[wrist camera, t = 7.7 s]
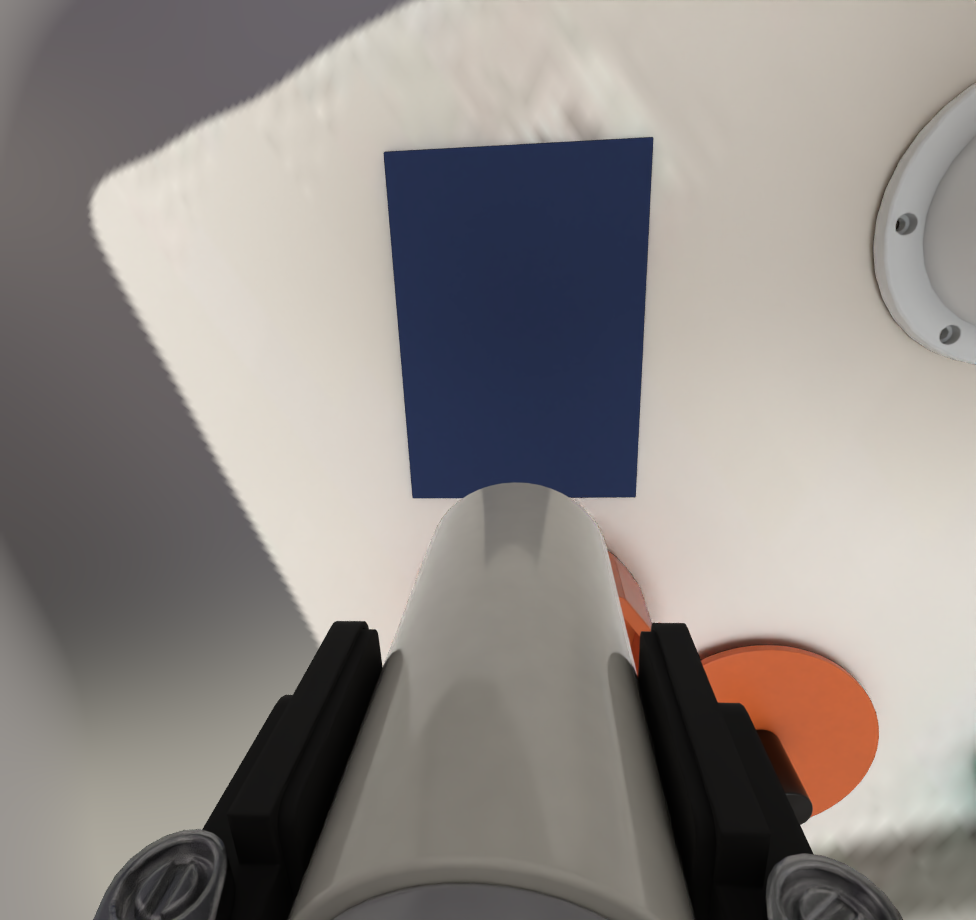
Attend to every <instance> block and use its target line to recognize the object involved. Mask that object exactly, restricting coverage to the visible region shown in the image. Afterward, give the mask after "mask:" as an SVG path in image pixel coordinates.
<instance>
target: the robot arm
mask: <svg viewBox="0 0 976 920" xmlns="http://www.w3.org/2000/svg"><path fill="white" fill-rule="evenodd" d="M897 220H898V221H899V227H898V229H897V230H896V226H895V224H896V222H897ZM873 250H874V264H875V275H876V279H877V282H878V285H879V289H880V292H881V296H882V299H883V301H884V302H885V304H886V306H887V308H888V310H889V311H890V313H891V315H892V317H893V318H894V320H895V321H896V322H897V323H898V324H899V326H900V327H901V328H902V329H903V330H904V331H905V332H906V333H907V334H908V335H909V336H910V337H911V338H912V339H914V340H915V341H917V342H918V343H920V344H921V345H923V346H924V347H926V348H927V349H929V350H930V351H932V352H935V353H938V354H940V355H943V356H945V357H948V358H951V359H953V360H958V361H962V362H967V363H971V364H975V365H976V83H974V84H973V85H971V86H970V87H969V88H967V89H966V90H965V91H963V92H962V93H961V94H960V95H958V96H957V97H956V98H954V99H953V100H952V101H951V102H949V103H948V104H947V105H945V106H944V107H943V108H942V109H941V110H940V111H939V112H938V113H937V115H936V116H935V117H934V118H933V119H932V120H931V121H930V122H929V123H928V124H927V125H926V126H925V127H924V128H923V129H922V130H921V131H920V132H919V134H918V135H917V137H916V138H915V140H914V141H913V142H912V144H911V145H910V147H909V148H908V150H907V151H906V152H905V154H904V155H903V157H902V158H901V160H900V161H899V163H898V165H897V167H896V169H895V171H894V173H893V176H892V178H891V180H890V182H889V184H888V186H887V188H886V190H885V193H884V196H883V200H882V203H881V206H880V210H879V213H878V216H877V221H876V229H875V237H874V246H873ZM941 331H942V333H941ZM940 333H941V335H940ZM381 671H382V660H381V652H380V645H379V637H378V632H377V630H375V629H369V628H368V625H367V623H366V622H365V621H336V622H334V623H333V625H332V626H331V628H330V630H329V631H328V633H327V635H326V637H325V638H324V640H323V642H322V644H321V646H320V647H319V649H318V651H317V653H316V655H315V656H314V659H313V660H312V662H311V664H310V665H309V667H308V669H307V671H306V672H305V674H304V676H303V678H302V680H301V682H300V683H299V685H298V687H297V689H296V690H295V692H294V694H293V695H285V696H283V697H281V698H280V699H279V701H278V702H277V703H276V705H275V706H274V708H273V710H272V712H271V713H270V715H269V717H268V718H267V720H266V722H265V723H264V725H263V727H262V729H261V730H260V732H259V734H258V735H257V737H256V739H255V740H254V742H253V744H252V746H251V747H250V749H249V751H248V752H247V754H246V756H245V758H244V759H243V761H242V763H241V765H240V766H239V768H238V770H237V771H236V773H235V775H234V777H233V778H232V780H231V782H230V783H229V785H228V787H227V788H226V790H225V792H224V793H223V795H222V797H221V798H220V800H219V802H218V804H217V805H216V807H215V809H214V811H213V812H212V814H211V816H210V817H209V819H208V821H207V823H206V824H205V826H204V828H203V829H202V830H201V829H196V830H183V831H179V832H176V833H173V834H169V835H167V836H164V837H162V838H161V839H159V840H157V841H155V842H153V843H151V844H149V845H148V846H146V847H145V848H144V849H142V850H141V851H140V852H139V853H137V854H136V855H135V856H133V857H132V858H131V859H130V860H129V861H128V862H127V863H126V864H125V865H124V866H123V868H122V869H121V870H120V871H119V872H118V873H117V874H116V876H115V877H114V879H113V881H112V882H111V884H110V886H109V887H108V889H107V891H106V892H105V894H104V896H103V899H102V901H101V903H100V905H99V908H98V910H97V912H96V915H95V917H94V919H93V920H287V919H288V916H289V913H290V911H291V908H292V906H293V903H294V900H295V898H296V895H297V892H298V890H299V887H300V884H301V882H302V879H303V877H304V874H305V871H306V869H307V866H308V863H309V861H310V858H311V855H312V853H313V850H314V847H315V845H316V842H317V840H318V837H319V834H320V832H321V829H322V826H323V824H324V821H325V818H326V816H327V813H328V811H329V808H330V805H331V803H332V800H333V797H334V795H335V792H336V789H337V787H338V784H339V781H340V779H341V776H342V774H343V771H344V768H345V766H346V763H347V760H348V758H349V755H350V752H351V750H352V747H353V744H354V742H355V739H356V737H357V734H358V731H359V729H360V726H361V723H362V721H363V718H364V715H365V713H366V710H367V708H368V705H369V702H370V700H371V697H372V694H373V692H374V689H375V686H376V684H377V681H378V678H379V676H380V673H381ZM638 680H639V684H640V688H641V692H642V697H643V701H644V705H645V709H646V713H647V717H648V722H649V726H650V730H651V734H652V738H653V743H654V747H655V751H656V755H657V759H658V763H659V768H660V772H661V776H662V780H663V784H664V788H665V793H666V797H667V801H668V805H669V809H670V814H671V818H672V822H673V826H674V830H675V834H676V839H677V843H678V847H679V851H680V855H681V859H682V864H683V868H684V872H685V876H686V880H687V885H688V889H689V893H690V897H691V901H692V905H693V910H694V914H695V918H696V920H903V919H902V917H901V915H900V913H899V911H898V910H897V909H896V907H895V906H894V905H893V904H892V902H891V901H890V900H889V898H888V897H887V896H886V894H885V893H884V892H883V891H882V890H880V889H879V888H878V887H877V886H876V885H875V884H874V883H873V882H871V881H870V880H869V879H868V878H867V877H866V876H864V875H863V874H861V873H859V872H858V871H856V870H854V869H853V868H851V867H850V866H848V865H846V864H845V863H842V862H839V861H836V860H834V859H831V858H828V857H826V856H822V855H814V854H813V852H812V850H811V848H810V846H809V843H808V841H807V839H806V837H805V835H804V833H803V830H802V828H801V826H800V824H799V822H798V820H797V818H796V815H795V813H794V811H793V809H792V807H791V805H790V802H789V800H788V798H787V796H786V794H785V792H784V789H783V787H782V785H781V783H780V781H779V779H778V776H777V774H776V772H775V770H774V768H773V766H772V764H771V761H770V759H769V757H768V755H767V753H766V751H765V748H764V746H763V744H762V742H761V740H760V738H759V735H758V733H757V731H756V729H755V727H754V725H753V722H752V720H751V718H750V716H749V714H748V712H747V710H746V709H745V707H744V706H743V705H742V704H741V703H718V702H717V699H716V697H715V694H714V692H713V689H712V687H711V685H710V682H709V680H708V677H707V675H706V672H705V670H704V667H703V665H702V662H701V660H700V657H699V655H698V652H697V650H696V648H695V645H694V643H693V640H692V638H691V635H690V633H689V630H688V628H687V626H686V624H684V623H653V624H652V626H651V631H641V633H640V645H639V668H638Z"/></svg>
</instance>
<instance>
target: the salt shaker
mask: <svg viewBox="0 0 976 920" xmlns="http://www.w3.org/2000/svg"><path fill="white" fill-rule="evenodd" d="M287 920H696V918H695V914H694V910H693V905H692V901H691V897H690V893H689V889H688V885H687V880H686V876H685V872H684V868H683V864H682V859H681V855H680V851H679V847H678V843H677V839H676V834H675V830H674V826H673V822H672V818H671V814H670V809H669V805H668V801H667V797H666V793H665V788H664V784H663V780H662V776H661V772H660V768H659V763H658V759H657V755H656V751H655V747H654V743H653V738H652V734H651V730H650V726H649V722H648V717H647V713H646V709H645V705H644V701H643V697H642V692H641V688H640V684H639V680H638V676H637V672H636V667H635V663H634V659H633V655H632V651H631V646H630V642H629V638H628V634H627V630H626V626H625V621H624V617H623V613H622V609H621V605H620V601H619V596H618V592H617V588H616V584H615V580H614V575H613V571H612V567H611V563H610V559H609V555H608V550H607V546H606V543H605V540H604V538H603V535H602V533H601V531H600V529H599V527H598V526H597V524H596V523H595V521H594V520H593V519H592V517H591V516H590V515H589V514H588V513H587V512H586V511H585V510H584V509H583V508H582V507H581V506H580V505H579V504H577V503H576V502H575V501H574V500H572V499H571V498H569V497H567V496H566V495H564V494H562V493H560V492H558V491H555V490H553V489H551V488H547V487H544V486H540V485H536V484H530V483H515V482H514V483H502V484H497V485H492V486H488V487H485V488H482V489H479V490H477V491H475V492H473V493H471V494H469V495H467V496H466V497H464V498H463V499H461V500H460V501H458V502H457V503H456V504H455V505H454V506H452V507H451V508H450V509H449V510H448V512H447V513H446V514H445V515H444V516H443V517H442V519H441V521H440V522H439V524H438V525H437V527H436V529H435V531H434V534H433V536H432V538H431V541H430V544H429V546H428V549H427V552H426V554H425V557H424V560H423V562H422V565H421V568H420V570H419V573H418V575H417V578H416V581H415V583H414V586H413V589H412V591H411V594H410V597H409V599H408V602H407V605H406V607H405V610H404V612H403V615H402V618H401V620H400V623H399V626H398V628H397V631H396V634H395V636H394V639H393V641H392V644H391V647H390V649H389V652H388V655H387V657H386V660H385V663H384V665H383V668H382V671H381V673H380V676H379V678H378V681H377V684H376V686H375V689H374V692H373V694H372V697H371V700H370V702H369V705H368V708H367V710H366V713H365V715H364V718H363V721H362V723H361V726H360V729H359V731H358V734H357V737H356V739H355V742H354V744H353V747H352V750H351V752H350V755H349V758H348V760H347V763H346V766H345V768H344V771H343V774H342V776H341V779H340V781H339V784H338V787H337V789H336V792H335V795H334V797H333V800H332V803H331V805H330V808H329V811H328V813H327V816H326V818H325V821H324V824H323V826H322V829H321V832H320V834H319V837H318V840H317V842H316V845H315V847H314V850H313V853H312V855H311V858H310V861H309V863H308V866H307V869H306V871H305V874H304V877H303V879H302V882H301V884H300V887H299V890H298V892H297V895H296V898H295V900H294V903H293V906H292V908H291V911H290V913H289V916H288V919H287Z"/></svg>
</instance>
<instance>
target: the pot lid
mask: <svg viewBox="0 0 976 920" xmlns="http://www.w3.org/2000/svg"><path fill="white" fill-rule="evenodd" d="M701 662H702V665H703V667H704V670H705V672H706V675H707V677H708V680H709V682H710V685H711V687H712V689H713V692H714V694H715V697H716V699H717V702H718V703H741V704H742V705H743V706H744V707H745V709H746V710H747V712H748V714H749V716H750V718H751V720H752V722H753V725H754V727H755V729H756V731H757V733H758V735H759V738H760V740H761V742H762V744H763V746H764V748H765V751H766V753H767V755H768V757H769V759H770V761H771V764H772V766H773V768H774V770H775V772H776V774H777V776H778V779H779V781H780V783H781V785H782V787H783V789H784V792H785V794H786V796H787V798H788V800H789V802H790V805H791V807H792V809H793V811H794V813H795V815H796V818H797V820H798V822H799V824H800V825H801V824H803V823H805V822H806V821H807V820H808V819H809V818H810V817H812V816H815V815H817V814H819V813H821V812H823V811H825V810H827V809H829V808H830V807H832V806H833V805H835V804H836V803H838V802H839V801H841V800H842V799H843V798H844V797H846V796H847V795H848V794H849V793H850V792H851V791H852V790H853V789H854V788H855V787H856V786H857V785H858V784H859V783H860V782H861V780H862V779H863V777H864V776H865V775H866V773H867V772H868V770H869V768H870V766H871V764H872V762H873V760H874V757H875V754H876V751H877V746H878V739H879V726H878V720H877V715H876V712H875V709H874V707H873V704H872V702H871V700H870V698H869V697H868V695H867V694H866V692H865V690H864V689H863V688H862V687H861V685H860V684H859V683H858V682H857V681H856V680H855V679H854V677H853V676H852V675H851V674H849V673H848V672H847V671H846V670H844V669H843V668H842V667H841V666H839V665H837V664H836V663H834V662H832V661H831V660H829V659H827V658H825V657H822V656H820V655H818V654H816V653H812V652H809V651H806V650H803V649H798V648H793V647H787V646H776V645H757V646H747V647H740V648H735V649H731V650H727V651H723V652H720V653H717V654H715V655H712V656H709V657H707V658H705V659H703V660H701Z"/></svg>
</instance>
